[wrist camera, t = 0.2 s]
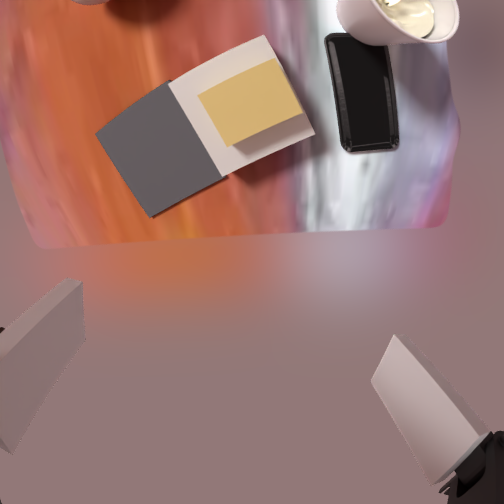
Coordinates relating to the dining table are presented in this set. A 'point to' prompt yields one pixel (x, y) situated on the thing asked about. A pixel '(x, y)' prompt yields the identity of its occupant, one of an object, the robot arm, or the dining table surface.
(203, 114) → the white stand
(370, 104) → the phone
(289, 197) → the dining table surface
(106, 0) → the decorative fruit
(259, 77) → the ochre tile
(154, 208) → the dark grey mat
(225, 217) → the dining table surface
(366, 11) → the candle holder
